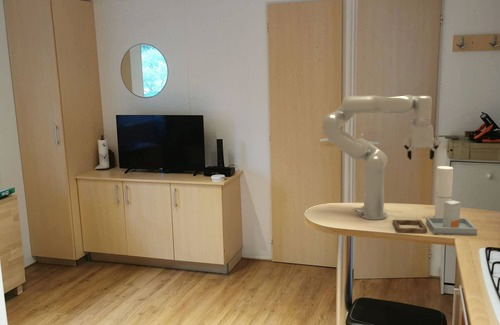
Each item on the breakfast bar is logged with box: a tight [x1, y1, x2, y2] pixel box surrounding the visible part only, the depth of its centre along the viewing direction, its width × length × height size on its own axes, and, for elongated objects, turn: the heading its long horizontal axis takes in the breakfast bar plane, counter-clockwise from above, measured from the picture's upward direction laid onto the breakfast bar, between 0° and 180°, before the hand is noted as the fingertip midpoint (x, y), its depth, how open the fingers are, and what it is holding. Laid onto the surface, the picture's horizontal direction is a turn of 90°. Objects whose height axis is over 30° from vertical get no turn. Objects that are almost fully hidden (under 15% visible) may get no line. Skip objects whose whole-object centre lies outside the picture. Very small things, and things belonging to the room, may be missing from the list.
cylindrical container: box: [434, 165, 454, 218], centre depth 231 cm, size 7×7×25 cm
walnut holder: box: [392, 219, 429, 234], centre depth 219 cm, size 13×13×2 cm
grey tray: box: [425, 217, 478, 236], centre depth 217 cm, size 18×15×3 cm
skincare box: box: [443, 200, 462, 228], centre depth 216 cm, size 6×4×12 cm
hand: (420, 159), depth 224 cm, fingers open, 9 cm apart
